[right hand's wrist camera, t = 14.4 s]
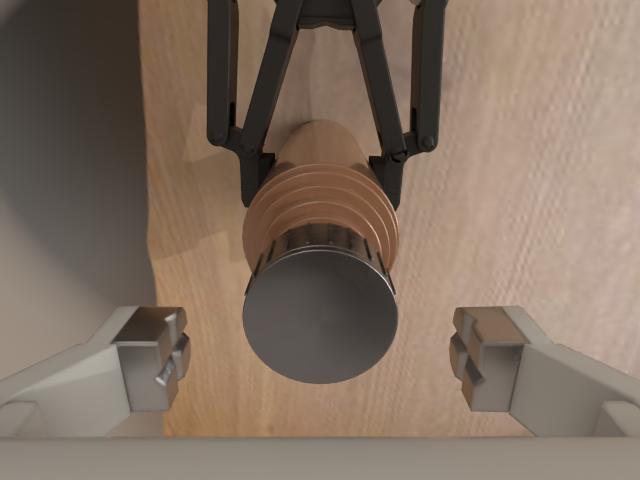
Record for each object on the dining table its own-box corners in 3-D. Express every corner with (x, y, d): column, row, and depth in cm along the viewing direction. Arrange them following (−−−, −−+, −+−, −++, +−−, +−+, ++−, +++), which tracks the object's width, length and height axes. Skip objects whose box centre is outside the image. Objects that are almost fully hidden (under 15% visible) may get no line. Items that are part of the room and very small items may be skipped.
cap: (226, 292, 13) (208, 330, 11) (311, 191, 12) (309, 213, 10) (328, 363, 14) (328, 409, 12) (416, 276, 13) (434, 313, 11)
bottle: (266, 165, 33) (162, 325, 11) (316, 102, 31) (303, 152, 10) (326, 213, 34) (332, 435, 13) (377, 155, 32) (482, 301, 11)
